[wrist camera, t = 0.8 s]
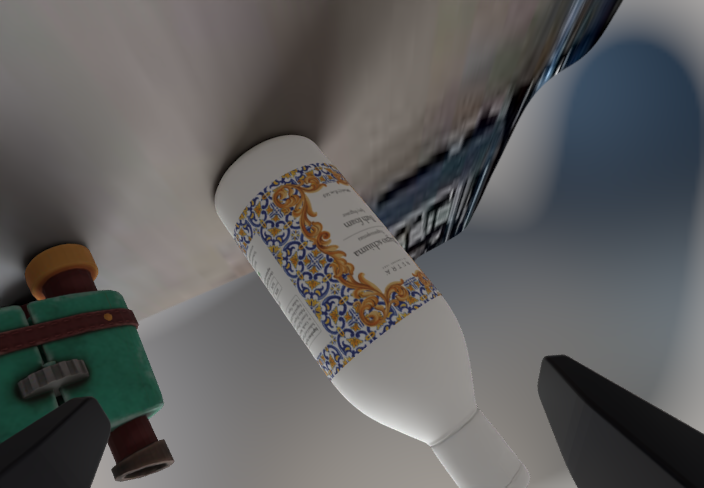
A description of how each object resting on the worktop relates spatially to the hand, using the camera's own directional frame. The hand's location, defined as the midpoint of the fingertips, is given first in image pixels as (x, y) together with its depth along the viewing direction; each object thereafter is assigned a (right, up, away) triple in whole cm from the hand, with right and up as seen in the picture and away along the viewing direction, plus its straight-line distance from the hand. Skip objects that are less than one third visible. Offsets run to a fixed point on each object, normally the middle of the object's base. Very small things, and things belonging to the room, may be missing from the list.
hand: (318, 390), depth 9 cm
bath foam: (-4, +7, +16) cm, 18 cm away
